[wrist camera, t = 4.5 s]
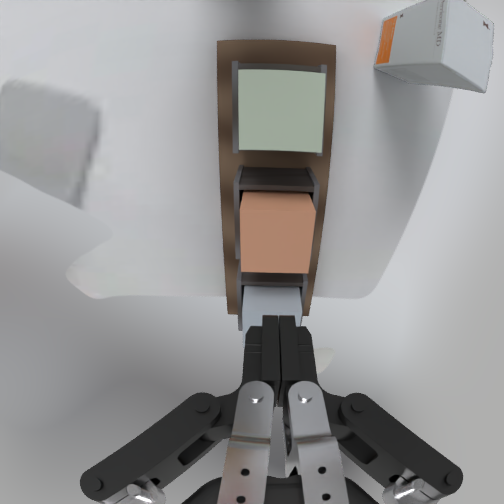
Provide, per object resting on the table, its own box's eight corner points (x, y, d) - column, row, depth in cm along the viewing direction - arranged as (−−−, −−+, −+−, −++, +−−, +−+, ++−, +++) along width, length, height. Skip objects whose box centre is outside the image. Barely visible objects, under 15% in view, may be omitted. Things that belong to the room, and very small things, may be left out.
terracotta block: (245, 181, 24) (239, 209, 18) (304, 182, 23) (315, 211, 18) (246, 232, 26) (241, 271, 21) (300, 234, 26) (308, 273, 21)
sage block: (245, 75, 19) (238, 69, 14) (310, 77, 19) (325, 73, 13) (245, 134, 21) (238, 149, 16) (307, 137, 21) (321, 152, 16)
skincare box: (381, 17, 17) (449, -12, 7) (418, 35, 17) (496, 23, 7) (371, 69, 20) (440, 64, 10) (409, 85, 21) (488, 95, 10)
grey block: (246, 268, 28) (242, 310, 23) (296, 269, 28) (302, 311, 23) (246, 305, 31) (243, 347, 26) (292, 306, 31) (295, 348, 26)
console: (219, 43, 20) (205, 29, 14) (332, 47, 20) (352, 35, 14) (229, 305, 36) (223, 345, 30) (307, 307, 36) (312, 346, 30)
